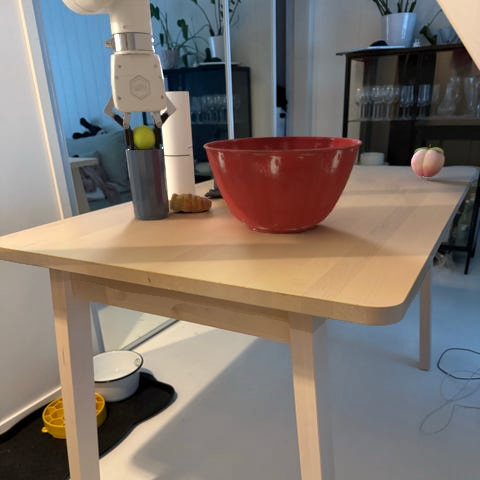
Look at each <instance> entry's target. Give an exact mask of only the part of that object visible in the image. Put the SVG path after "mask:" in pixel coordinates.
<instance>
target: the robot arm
mask: <svg viewBox="0 0 480 480" xmlns="http://www.w3.org/2000/svg"><path fill="white" fill-rule="evenodd" d="M61 1H62V3H63V4H64V5H65V6H66V7H67V8H68V9H69V10H70V11H72V12H73V13H76V14H78V15H81V16H89V15H90V16H92V15H102V14H103V15H104V14H105V15H106V14H107V15H108V16H109V22H110V31H111V38H108V39H104V46H105V49H110V50H112V51H113V54H111V55H110V84H111V95H110V97H109V99H108V101H107V102H106V105H105V106H104V108H103V113H104V114H105V115H106V116H107V117H108V118H110V119H112V120H113V121H115V123H117V124H118V125H119V126H121V128H122V129H123V133H124V142H125V143H124V144H125V147H128V149H130V150H134V148H135V147H134V141H133V132H132V131H133V129H132V128H131V125H130V124H131V123H130V122H131V115H132V113H148V112H149V113H150V116H151V119H152V122H153V127H151V129H152V130H153V131H154V134H155V145H154V148H156V149H160V147H161V145H163V134H162V125H163V124H164V123H165V121H166V120H167V119H168V118H169V117H170V116H171V115H172V114H173V113H174V112H175V111H176V107H175V106H174V105H173V103H172V102H171V101H170V99H169V98H168V97H167V95H166V92H167V91H166V86H165V79H164V73H163V67H162V63H161V58H160V55H159V54H155V49H154V48H155V47H154V39H153V37H154V36H153V26H152V25H153V24H152V16H151V15H152V14H151V5H150V4H151V3H150V0H61ZM166 107H167V110H166V111H165V112H164V113H162V115H161V114H160V111H162V110H164V109H165V108H166ZM113 109H114V110H115V111H117V112H119V113H122V116H121V115H120V114H118V113H116V112H115V111H114V110H113Z"/></svg>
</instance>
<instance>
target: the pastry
mask: <svg viewBox="0 0 480 480" xmlns="http://www.w3.org/2000/svg"><path fill="white" fill-rule="evenodd" d="M212 205H213V201H212V200H211V199H209V198H208V197H203V196H201V195H197V194H196V195H192V194H190V193H189V194H180V195H178V194H176V193H174V194H172V197H171V200H170V202H169V210H170V211H172V212H174V213H179V212H180V211H182V212H184V213H189V212H192V213H195V212H196V213H198V212H204V211H209V210H210V209H211V208H212Z"/></svg>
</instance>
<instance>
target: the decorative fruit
mask: <svg viewBox="0 0 480 480" xmlns="http://www.w3.org/2000/svg"><path fill="white" fill-rule="evenodd" d="M444 154H445V152H444V150H443V149H442V148H441V147H432V144H431V143H429V147H419V148H416V149H415V150H414V154H413V156H412V158H411V161H410V163H411V168H412V170H413V172H414V173H415V174H416V175H417V176H419V177H420V176H424V177H430V178H432V177H434V176H436V175H438V174H439V173H440V172H441V170H442V169H443V168H444V165H445V158H446V157H445V155H444Z"/></svg>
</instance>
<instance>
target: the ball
mask: <svg viewBox="0 0 480 480" xmlns="http://www.w3.org/2000/svg"><path fill="white" fill-rule="evenodd" d="M132 132H133V141H134V148H136V149H138V150H151V149H152V148H153V147H154V145H155V134H154V131H153V130H152V127H150V126H148V125H143V124H141V125H137V126H136V127H135V128H134V129H132Z"/></svg>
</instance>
